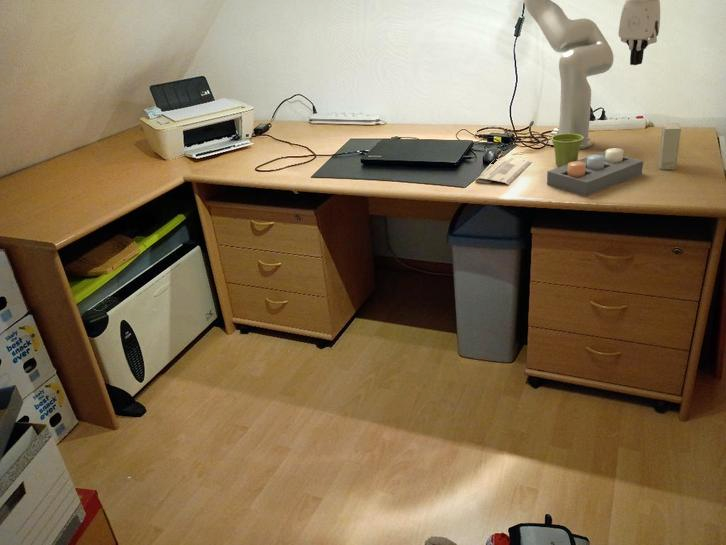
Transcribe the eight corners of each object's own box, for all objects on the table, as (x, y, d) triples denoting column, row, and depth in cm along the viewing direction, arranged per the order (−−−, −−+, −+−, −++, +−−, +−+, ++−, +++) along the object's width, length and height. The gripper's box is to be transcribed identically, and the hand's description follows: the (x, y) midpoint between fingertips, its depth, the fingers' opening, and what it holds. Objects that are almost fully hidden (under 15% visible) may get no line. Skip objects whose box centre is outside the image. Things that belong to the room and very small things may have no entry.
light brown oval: (563, 178, 174) (564, 164, 172) (575, 174, 176) (575, 160, 174) (576, 182, 170) (577, 168, 168) (588, 178, 173) (589, 163, 171)
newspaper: (495, 161, 203) (495, 154, 202) (530, 168, 197) (531, 160, 196) (468, 184, 186) (468, 176, 185) (506, 192, 181) (507, 184, 179)
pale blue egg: (582, 171, 178) (583, 157, 176) (593, 167, 180) (594, 153, 178) (596, 175, 174) (597, 161, 172) (607, 171, 176) (608, 156, 174)
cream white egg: (601, 165, 181) (602, 151, 179) (611, 161, 183) (613, 147, 181) (614, 168, 177) (616, 154, 175) (625, 164, 179) (627, 150, 177)
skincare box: (676, 169, 178) (682, 128, 172) (659, 169, 179) (664, 129, 174) (673, 163, 183) (679, 122, 177) (657, 163, 184) (662, 123, 179)
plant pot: (544, 164, 194) (545, 137, 190) (567, 157, 197) (569, 131, 193) (563, 171, 186) (565, 143, 182) (588, 164, 189) (590, 137, 185)
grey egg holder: (546, 184, 178) (547, 171, 176) (602, 164, 188) (603, 151, 187) (585, 196, 167) (586, 182, 165) (641, 174, 178) (643, 160, 176)
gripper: (610, -4, 170) (605, 64, 179) (659, -4, 159) (650, 69, 167) (628, -7, 173) (622, 60, 182) (677, -8, 162) (667, 64, 170)
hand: (635, 64), depth 174 cm, fingers closed
